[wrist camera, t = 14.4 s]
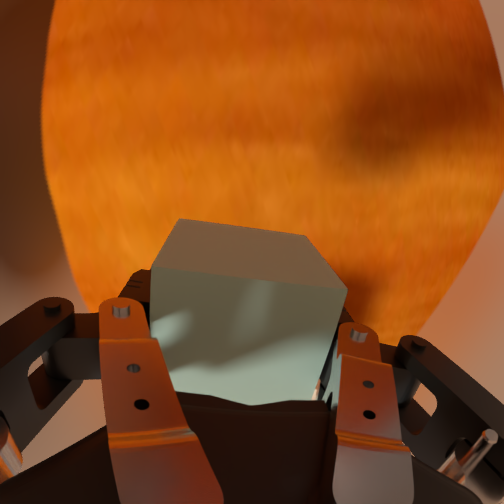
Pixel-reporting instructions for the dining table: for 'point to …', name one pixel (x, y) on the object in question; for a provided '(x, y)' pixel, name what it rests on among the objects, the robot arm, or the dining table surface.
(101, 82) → the dining table surface
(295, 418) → the robot arm
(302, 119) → the dining table surface
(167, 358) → the sage block
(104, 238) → the dining table surface
